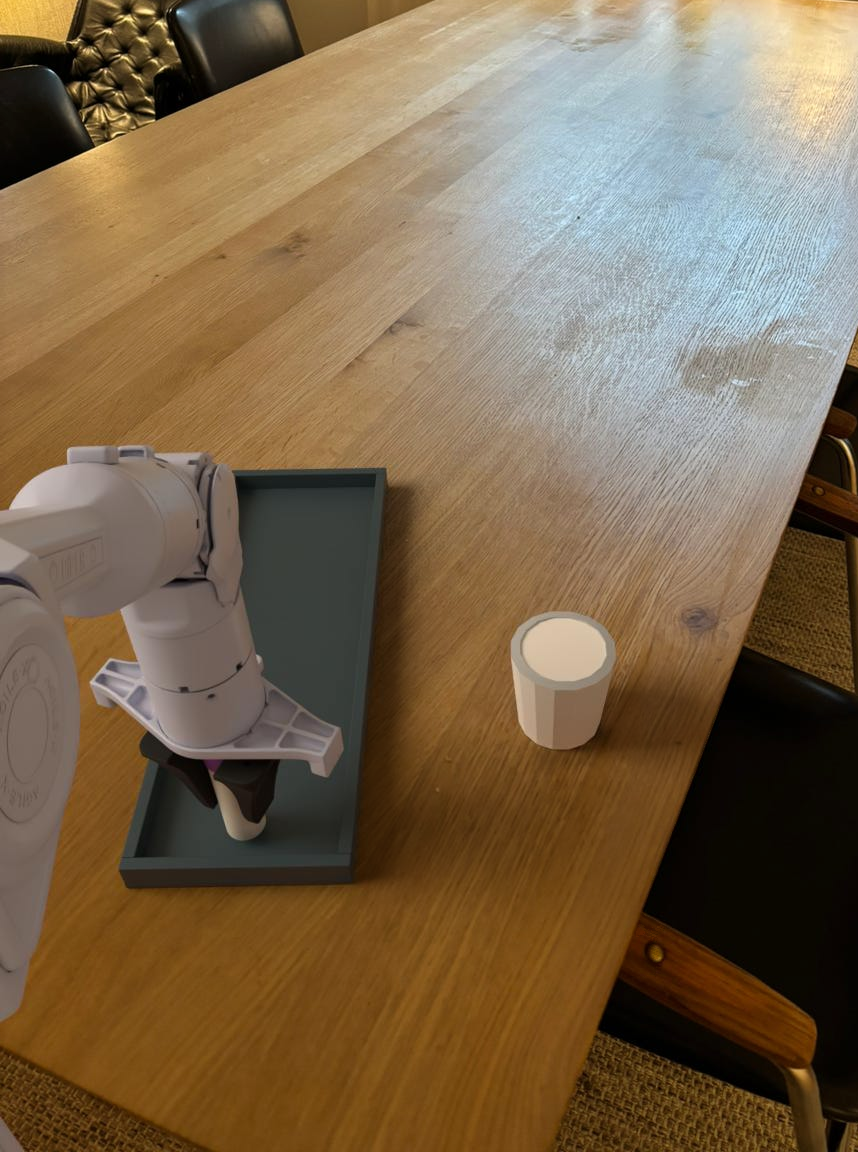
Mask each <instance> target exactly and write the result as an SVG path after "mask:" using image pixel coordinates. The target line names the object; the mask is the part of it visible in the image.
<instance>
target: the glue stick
mask: <svg viewBox="0 0 858 1152" xmlns="http://www.w3.org/2000/svg"><path fill="white" fill-rule="evenodd" d="M203 761H204V764H205V766H206V767H207V768H208V771H209V774H210V777H211V781H212V784H213V787H214V790H215V793H216V797H217V800H218V803H219V806H220V810H221V813H222V816H223V819H224V822H225V826H226V829H227V832H228V834H229V835H230V836H231V837H232V838H234V839H236V840H241V841H244V840H250V839H252V838H254V837H256V836H257V835H259V834H260V833H261V832H262V830H263V829H264V827H265V824H266V817H265V815H264V816H263V818H262V820H261V821H260V823H258V824H255V823H252V822H249V821H247V820H246V819H245V818H244V816H243V815H242V812H241V810H240V807H239V805H238V802H237V800H236V798H235V796H234V795H233V793H232V792H231V791H230V790H229V789H228V787H226V786H225V785H224V784H222V783H220V782H218V781H216V780H214V778H213V774H214V773H215V771H216V770H217V768H218V767H219V765H220V764H221V762H222V761H223V759H203Z"/></svg>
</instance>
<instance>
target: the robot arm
mask: <svg viewBox="0 0 858 1152" xmlns="http://www.w3.org/2000/svg"><path fill="white" fill-rule="evenodd" d="M213 458H214V456H212V454H211V453H209V452H208V451H203V452H201V451H199V452H198V451H197V452H156V451H155V448H154V447H153V446H152V445H150V444H133V445H132V444H129V445H127V444H126V445H120V446H119V447H117V446H116V445H81V446H79V445H78V446H71V447H69V448H67V450H66V460H67V462H66V463H67V464H62V465H59V466H58V465H57V466H55V467H52V468H49V469H46V470H44V471H43V472H41V473H39V474H38V475H36V476H35V477H33V478H32V479H30V480H29V481H28V482H27V483H26V484H25V485H24V486H23V487H22V488H21V489H20V490H19V492H18V493H17V494H16V495H15V497H14V499H13V500H12V502H11V504H10V506H9V508H8V509H3V510H0V1023H2V1022H3V1021H4V1020H6V1019H8V1018H9V1017H11V1016H12V1015H14V1014H15V1013H16V1012H17V1011H18V1010H19V1009H20V1007H21V1005H22V1002H23V999H24V994H25V988H26V984H27V979H28V972H29V968H30V963H31V958H32V957H33V955H34V953H35V951H36V949H37V947H38V945H39V941H40V938H41V933H42V930H43V924H44V919H45V914H46V907H47V902H48V898H49V893H50V888H51V882H52V876H53V871H54V867H55V860H56V857H57V856H56V855H57V850H58V846H59V840H60V835H61V830H62V823H63V818H64V813H65V808H66V805H67V803H68V801H69V797H70V794H71V789H72V786H73V783H74V779H75V773H76V769H77V764H78V763H77V762H78V757H79V749H80V737H81V716H82V715H81V692H80V682H79V677H78V676H79V675H78V669H77V665H76V661H75V656H74V653H73V650H72V647H71V645H70V642H69V639H68V635H67V630H66V625H65V620H64V617H69V618H76V619H95V618H101V617H104V616H108V615H111V614H113V613H117V612H118V611H120V614H121V617H122V620H123V623H124V626H125V629H126V632H127V634H128V637H129V641H130V644H131V646H132V649H133V651H134V654H135V658H136V660H137V661H127V660H121V659H117V658H113V657H110V658H108V660H107V661H106V662H105V663H104V665H102V666H101V668H100V669H99V671H98V672H96V674H95V675H94V676H93V678H92V679H90V681H89V686H90V688H91V690H92V693H93V696H94V698H95V700H96V703H97V705H99V706H102V707H105V708H107V709H113V708H116V707H117V706H119V707H121V709H122V710H124V711H125V712H126V713H127V714H128V715H130V716H131V717H132V718H133V719H134V720H136V721H137V722H138V723H139V725H141V726H143V727H144V728H145V729H146V732H145V733H144V735H143V736H142V737H141V739H140V741H139V745H138V747H139V752H140V754H141V757H143V758H145V759H148V760H149V759H150V760H152V761H154V762H156V763H158V764H160V765H161V766H163V767H164V768H166V769H167V770H169V771H170V772H171V773H172V774H174V775H175V776H176V777H177V778H178V779H179V780H180V781H181V782H182V783H183V784H184V785H185V786H186V787H187V788H188V789H189V790H190V791H191V793H192V794H193V795H194V796H195V797H196V798H197V799H198V800H199V801H200V802H201V803H202V804H203V805H204V806H205V807H208V808H211V809H215V807H216V805H217V804H218V800H217V797H216V793H215V790H214V787H213V784H212V781H211V777H210V774H209V771H208V768H207V767H206V766H205V764H204V761H203V759H223V761H222V762H221V764H220V765H219V767H218V768H217V770H216V771H215V773H214V774H213V778H214V780H216V781H218V782H220V783H222V784H224V785H225V786H226V787H228V789H229V790H230V791H231V792H232V793H233V795H234V796H235V798H236V800H237V802H238V805H239V807H240V810H241V812H242V815H243V816H244V818H245V819H246V820H247V821H249V822H252V823H255V824H258V823H260V821H261V820H262V818H263V816H264V815H265V813H266V811H267V810H268V808H269V806H270V805H271V803H272V801H273V800H274V791H275V782H276V775H277V771H278V767H279V763H280V760H281V759H301V760H306V761H308V762H309V763H310V767H311V771H312V773H314V774H317V775H320V776H323V777H329V775H330V773H331V771H332V770H333V768H334V767H335V765H336V763H337V761H338V759H339V757H340V755H341V754H342V752H343V750H344V747H343V741H342V734H341V728H340V727H337V726H334V725H332V724H329V723H327V722H324V721H322V720H321V719H319V718H317V717H316V716H314V715H313V714H311V713H310V712H309V711H307V710H306V709H305V708H303V707H302V706H301V705H299V704H298V703H297V702H295V701H294V700H293V699H291V698H290V697H289V696H287V695H286V694H285V693H283V692H282V691H281V690H279V689H278V688H277V687H275V686H274V685H273V684H271V683H270V682H269V681H267V680H266V679H265V678H263V677H262V676H261V672H262V670H263V668H264V664H263V660H262V657H261V656H259V655H257V654H256V652H255V647H254V643H253V639H252V635H251V630H250V626H249V621H248V617H247V613H246V608H245V604H244V600H243V595H242V591H241V587H240V582H239V580H240V575H241V571H242V566H243V559H242V547H241V543H240V538H239V529H238V525H239V511H238V498H237V491H236V485H235V479H234V474H233V473H232V471H231V470H232V469H231V467H230V466H229V464H228V463H226V462H220V463H216V461H214V460H213ZM63 616H64V617H63ZM0 1152H26V1151H25V1150H24V1148H23V1147H22V1145H21V1144H20V1143H19V1141H18V1139H17V1138H16V1137H15V1135H14V1134H13V1132H12V1131H11V1129H10V1128H9V1127H8V1125H7V1124H6V1122H5V1121H4V1119H3V1117H1V1116H0Z"/></svg>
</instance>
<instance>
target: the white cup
mask: <svg viewBox="0 0 858 1152" xmlns="http://www.w3.org/2000/svg"><path fill="white" fill-rule="evenodd" d="M616 651H617V650H616V642H615V640H614V639H613V637H612V636H611V634H610V633H609V631H608V629H607V628H606V627H605V626H603V624H600V623H599V622H598V621H596V620H595V619H593V618H592V617H591V616H587V615H584V614H580V613H578V612H574V611H571V610H569V611H567V610H566V611H565V610H564V611H554V610H553V611H547V612H544V613H540V614H537V615H534V616H532V617H530V618H529V619H528V620H526V621H525V622H523V623H522V624H521V625H519V626H517V629H516V631H515V633H514V634H513V636H512V638H511V639H510V661H511V668H512V677H513V685H514V694H515V703H516V711H517V718H518V719H517V721H518V724H519V726H520V728H521V729H522V731H523V733H524V735H525V736H526V737H528V738H529V739H530V740H532V742H533V743H535V744H536V745H538V746H541V747H544V748H547V749H549V750H572V749H574V748H577V747H581V746H583V745H585V744H586V743H587V742H588V741H590V740H591V739H592V738H593V737H594V736H595V735H596V732H597V731H598V728H599V726H600V723H601V719H602V715H603V711H604V707H605V703H606V701H607V700H606V698H607V695H608V692H609V687H610V683H611V680H612V676H613V672H614V669H615V664H616V661H617V652H616Z"/></svg>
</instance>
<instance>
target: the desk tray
mask: <svg viewBox="0 0 858 1152" xmlns="http://www.w3.org/2000/svg"><path fill="white" fill-rule="evenodd" d="M231 471H232V473H233V474H234V479H235V485H236V491H237V498H238V511H239V525H238V529H239V538H240V543H241V547H242V559H243V566H242V571H241V575H240V580H239V582H240V587H241V591H242V595H243V600H244V604H245V608H246V613H247V617H248V621H249V626H250V630H251V635H252V639H253V643H254V647H255V652H256V654H257V655H259V656H261V657H262V660H263V664H264V668H263V670H262V672H261V676H262V677H263V678H265V679H266V680H267V681H269V682H270V683H271V684H273V685H274V686H275V687H277V688H278V689H279V690H281V691H282V692H283V693H285V694H286V695H287V696H289V697H290V698H291V699H293V700H294V701H295V702H297V703H298V704H299V705H301V706H302V707H303V708H305V709H306V710H307V711H309V712H310V713H311V714H313V715H314V716H316V717H317V718H319V719H321V720H322V721H324V722H327V723H329V724H332V725H334V726H337V727H340V728H341V734H342V741H343V747H344V750H343V752H342V754H341V755H340V757H339V759H338V761H337V763H336V765H335V767H334V768H333V770H332V771H331V773H330V775H329V777H323V776H320V775H317V774H314V773H312V771H311V767H310V763H309V762H308V761H306V760H301V759H281V760H280V763H279V767H278V771H277V775H276V782H275V791H274V800H273V801H272V803H271V805H270V806H269V808H268V810H267V811H266V813H265V817H266V824H265V827H264V829H263V830H262V832H261V833H260V834H259V835H257V836H256V837H254V838H252V839H250V840H244V841H241V840H236V839H234V838H232V837H231V836H230V835H229V834H228V832H227V829H226V826H225V822H224V819H223V816H222V813H221V810H220V806H219V803H218V804H217V805H216V807H215V809H211V808H208V807H205V806H204V805H203V804H202V803H201V802H200V801H199V800H198V799H197V798H196V797H195V796H194V795H193V794H192V793H191V791H190V790H189V789H188V788H187V787H186V786H185V785H184V784H183V783H182V782H181V781H180V780H179V779H178V778H177V777H176V776H175V775H174V774H172V773H171V772H170V771H169V770H167V769H166V768H164V767H163V766H161V765H160V764H158V763H156V762H154V761H152V760H150V759H148V760H147V764H146V767H145V771H144V775H143V777H142V781H141V784H140V785H141V786H140V789H139V792H138V796H137V799H136V803H135V806H134V810H133V815H132V818H131V821H130V825H129V828H128V833H127V836H126V839H125V843H124V847H123V849H122V854H121V858H120V861H119V864H118V868H117V869H118V872H119V873H118V874H119V875H120V877H121V880H122V882H123V884H124V886H125V888H127V889H135V888H137V889H139V888H140V889H141V888H142V889H143V888H145V889H146V888H192V887H193V888H195V887H196V888H197V887H198V888H200V887H201V888H202V887H250V886H252V887H253V886H256V887H257V886H304V885H305V886H307V885H308V886H309V885H310V886H311V885H312V886H313V885H354V880H355V871H356V859H357V857H356V855H357V846H358V835H359V823H360V812H361V811H360V809H361V801H362V800H361V798H362V788H363V778H364V777H363V776H364V768H365V767H364V766H365V756H366V755H365V754H366V743H367V730H368V719H369V708H370V697H371V696H370V695H371V686H372V685H371V684H372V674H373V661H374V650H375V638H376V628H377V627H376V626H377V617H378V616H377V615H378V606H379V605H378V604H379V593H380V581H381V580H380V579H381V571H382V570H381V569H382V557H383V556H382V555H383V546H384V535H385V534H384V533H385V526H386V525H385V523H386V511H387V502H388V491H389V489H388V488H389V484H388V473H387V467H344V468H343V467H342V468H339V467H338V468H336V467H335V468H283V469H280V468H278V469H275V468H274V469H231Z"/></svg>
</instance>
